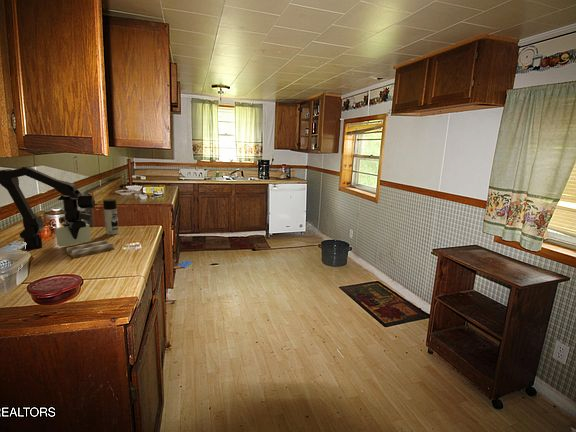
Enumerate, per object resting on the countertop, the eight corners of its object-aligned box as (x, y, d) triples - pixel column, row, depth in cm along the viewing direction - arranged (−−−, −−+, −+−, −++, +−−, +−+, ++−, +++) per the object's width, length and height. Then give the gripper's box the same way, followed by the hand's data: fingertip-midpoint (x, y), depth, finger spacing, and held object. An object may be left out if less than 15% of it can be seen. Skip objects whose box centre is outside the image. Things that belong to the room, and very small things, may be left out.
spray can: (113, 235, 182) (110, 201, 178) (103, 234, 183) (100, 200, 179) (121, 232, 188) (119, 199, 184) (111, 231, 190) (108, 198, 185)
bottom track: (73, 258, 145) (73, 251, 144) (66, 253, 150) (65, 247, 150) (114, 249, 159) (113, 243, 158) (106, 245, 164) (106, 239, 164)
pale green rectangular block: (59, 246, 155) (57, 229, 153) (57, 245, 157) (55, 227, 155) (90, 241, 166) (89, 224, 164) (88, 239, 168) (86, 223, 166)
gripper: (96, 209, 159) (98, 239, 162) (81, 204, 170) (84, 232, 173) (70, 212, 150) (74, 243, 153) (57, 206, 161) (60, 235, 164)
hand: (74, 238), depth 161 cm, fingers closed on pale green rectangular block, 3 cm apart
